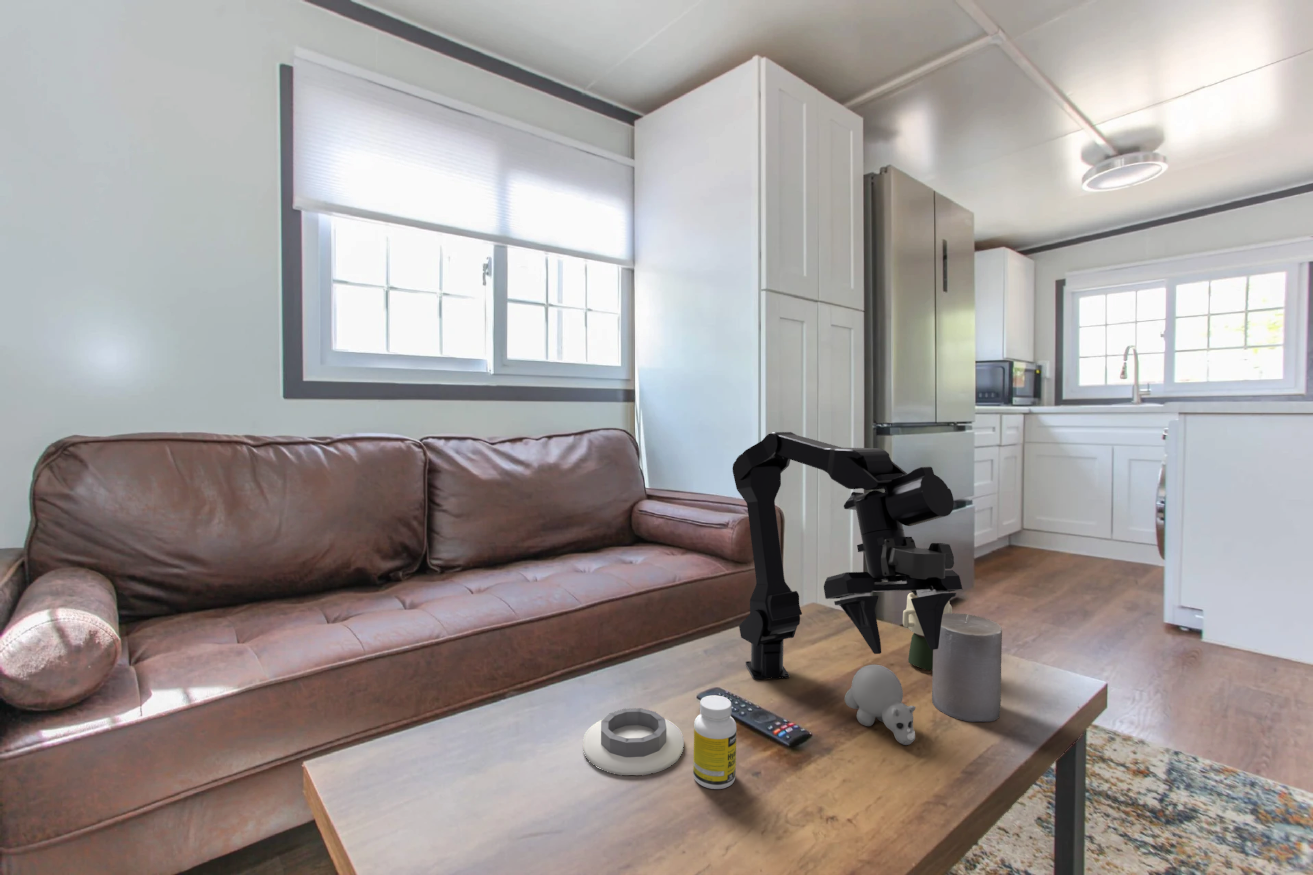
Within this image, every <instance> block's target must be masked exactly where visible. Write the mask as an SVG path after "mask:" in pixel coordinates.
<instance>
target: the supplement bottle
mask: <svg viewBox="0 0 1313 875" xmlns="http://www.w3.org/2000/svg"><path fill="white" fill-rule="evenodd" d="M732 706H733V704H732V702H731V700H730V699H728V698H727V697H725V696H722V695H715V694H713V695H706V696H703V697H702V698H700V702H699V714H698V715H697V716H696V718H695V719H694V722H693V724H694V726H693V762H692V766H693V767H692V768H693V769H692V770H693V772H692V773H693V774H692V775H693V779H694V780H695V782H696V783H698V784H699V785H700V786H702V787H704V788H707V789H711V790H721V789H722V790H723V789H726V788H728V787H730V786H731V785H733V783H734V782H735V780H736V773H737V772H736V767H737V730H738V729H737V723H736V720H735V719H734V718H733V717H732V713H733V712H732Z"/></svg>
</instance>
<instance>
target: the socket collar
mask: <svg viewBox="0 0 1313 875" xmlns="http://www.w3.org/2000/svg"><path fill="white" fill-rule="evenodd" d="M582 739H583V740H582V751H584V752H583V754H584V753H585V755H586V757H585V759H586V758H587V759H588V760H589V761H590V762H591V763H592V764H594V765H595V766H597V767H599V768H601V769H603V770H604V771H603V772H605V771H608V772H611V773H615V774H620V775H619V776H622V775H642V776H648V775H652V774H651V773H653V774H656V773H659V772H662V771H664V770H666V769H669V768H670V767H672V766H673V765H674V764H676V763H677V762H678V761H679V760H680V758H681V757H680V756H682V755H683V753H684V748H685V747H684V746H685V745H684V735H683V733H682V730H681V728H679V727H678V726H677V725H676V724H675V723H673V722H672V721H670V720H669V719H667V718H664V717H663V716H662V715H661V714H659V713H657V711H653V710H649V709H646V708H642V707H637V708H636V707H635V708H634V707H632V708H631V707H629V708H628V707H627V708H622V709H618V710H616V711H615V710H614V711H613V712H610V713H608V714H607V715H606V716H605V717H604V718H603V719H600V720H598V721H597V722H595V723H594V724H592V725H591V726H589V728H588V729H587V730H586V731H585V733H584V735H583V738H582ZM683 747H684V748H683ZM682 752H683V753H682ZM681 754H682V755H681ZM585 755H584V756H585ZM587 759H586V760H587ZM588 760H587V761H588ZM589 761H588V762H589ZM590 762H589V763H590ZM591 763H590V764H591ZM592 764H591V765H592ZM671 765H672V766H671ZM595 766H594V767H595ZM608 772H607V773H608ZM611 773H610V774H611ZM615 774H614V775H615Z"/></svg>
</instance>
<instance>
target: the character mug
mask: <svg viewBox="0 0 1313 875" xmlns="http://www.w3.org/2000/svg"><path fill="white" fill-rule="evenodd" d="M912 598H917V596H915V595H914V594H913V593H912V592H909V593H908V594H907V597H906V608H905V609H904V610H903V612H902V626H903V628H908V630H909V631H911V633H912V635H911V638H910V644H909V650H908V660H907V661H908V664H911V665H912V666H915V667H918V668H919V669H923V670H927V671H932V672H933V650H931V649H930V647H929V645H928V643H927V641H926V639H925V636H924V634H923V631H922V628H921V626H920V623H919V620H918V617H917V615H916V612H915V609H914V607H913V604H912V601H911V599H912ZM945 613H953V607H952V605H951V604H950V600H949V601H948V603H947V604H946V606H945V608H944V611H943V614H945Z"/></svg>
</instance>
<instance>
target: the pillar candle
mask: <svg viewBox="0 0 1313 875" xmlns="http://www.w3.org/2000/svg"><path fill="white" fill-rule="evenodd" d="M1002 641H1003V629H1002V626H1001V625H1000V624H999V623H998V622H996V621H993V620H991V619H990V618H986V617H983V616H979V615H975V614H974V615H973V614H968V613H960V612H952V613H945V614H943V616H942V622H941V630H940V638H939V646H938V649H936V650H933V671H932V678H931V679H932V681H931V682H932V687H931V688H932V690H931V701H932V702H931V703H932V705H933V706H934V707H935V709H937V710H938V711H939V712H941V713H943V715H944V714H945V715H947V716H949V717H951V718H954V719H957V720H961V721H963V722H971V723H976V722H984V723H985V722H988V723H989V722H990V723H991V722H995V721H996V720H997V719H999V718H1000V715H1001V704H1002V703H1001V702H1002V699H1001V698H1002V652H1003V651H1002V650H1003V649H1002V646H1003V645H1002V644H1003V643H1002Z"/></svg>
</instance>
